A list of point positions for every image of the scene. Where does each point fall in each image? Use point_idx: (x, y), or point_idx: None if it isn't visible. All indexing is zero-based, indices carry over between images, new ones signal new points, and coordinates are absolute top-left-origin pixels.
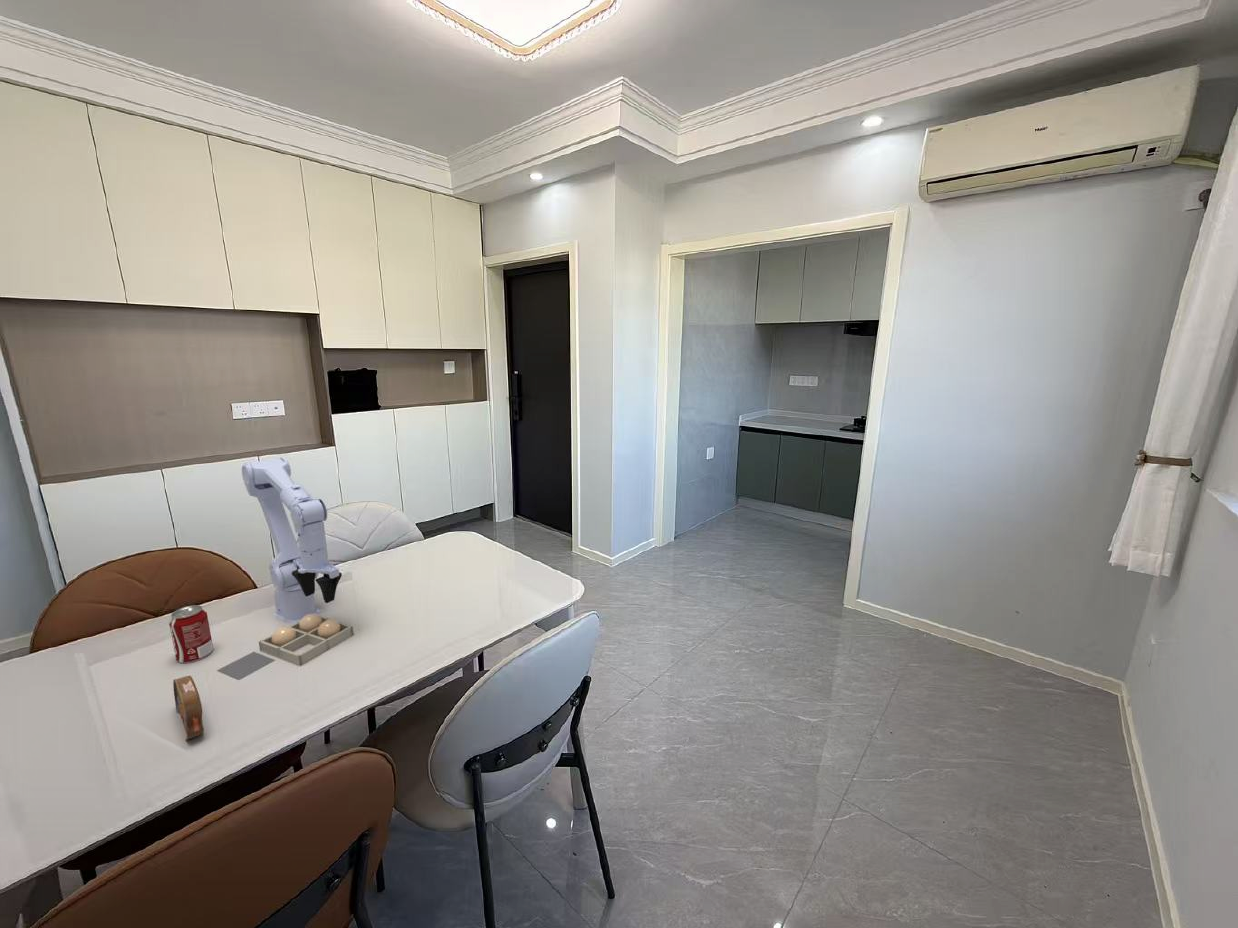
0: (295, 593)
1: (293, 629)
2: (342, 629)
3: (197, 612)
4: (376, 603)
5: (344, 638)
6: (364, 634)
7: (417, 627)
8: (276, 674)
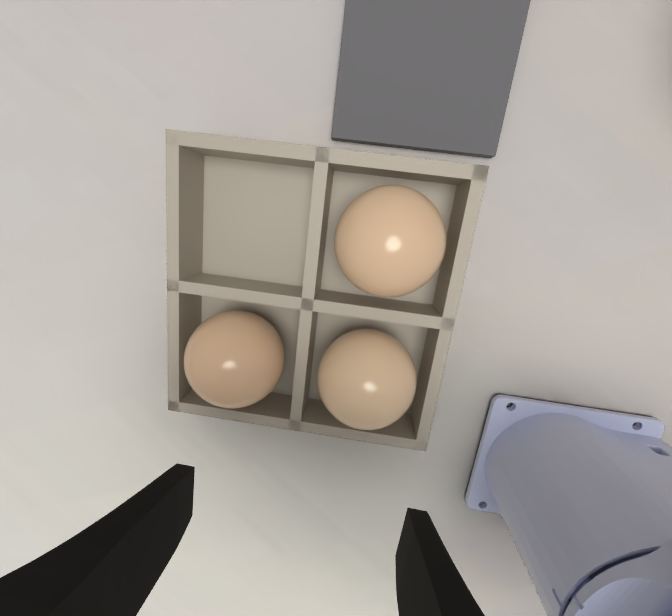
0: (595, 546)
1: (362, 286)
2: None
3: None
4: (309, 583)
5: None
6: None
7: (45, 485)
8: (250, 69)
